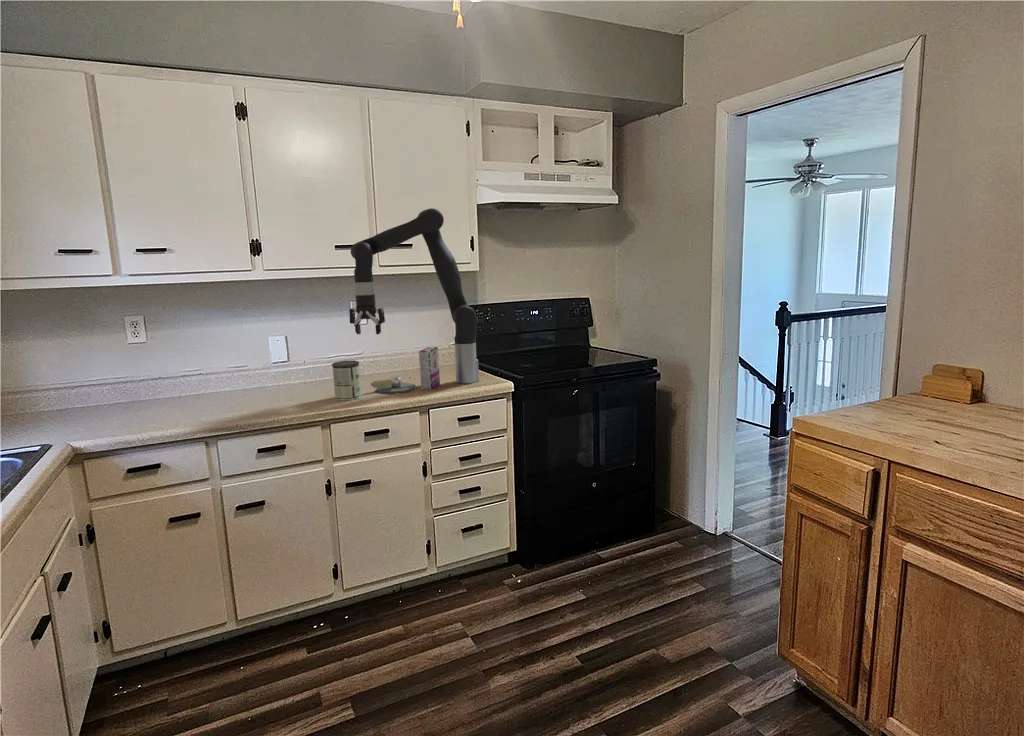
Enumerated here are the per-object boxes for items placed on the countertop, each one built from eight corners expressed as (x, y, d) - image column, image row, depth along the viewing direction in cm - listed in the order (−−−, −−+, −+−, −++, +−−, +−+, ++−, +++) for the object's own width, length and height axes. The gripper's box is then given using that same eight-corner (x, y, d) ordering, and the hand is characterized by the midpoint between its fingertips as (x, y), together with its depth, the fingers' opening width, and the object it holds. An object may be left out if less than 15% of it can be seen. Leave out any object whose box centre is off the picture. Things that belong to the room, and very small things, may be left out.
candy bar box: (429, 383, 257) (427, 346, 253) (440, 383, 256) (438, 346, 252) (420, 389, 246) (418, 350, 243) (431, 389, 245) (429, 351, 242)
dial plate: (409, 383, 258) (409, 380, 257) (420, 390, 244) (420, 388, 243) (372, 387, 251) (372, 385, 250) (382, 395, 237) (382, 393, 236)
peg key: (399, 384, 250) (398, 372, 249) (402, 387, 246) (401, 374, 245) (369, 388, 245) (368, 376, 244) (372, 390, 240) (371, 378, 239)
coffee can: (336, 395, 239) (333, 361, 236) (362, 393, 241) (360, 359, 238) (333, 401, 229) (330, 366, 226) (360, 400, 231) (357, 364, 228)
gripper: (385, 292, 236) (388, 332, 239) (353, 293, 239) (356, 332, 242) (377, 294, 228) (380, 335, 232) (344, 294, 232) (347, 335, 235)
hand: (368, 334), depth 237 cm, fingers open, 8 cm apart
